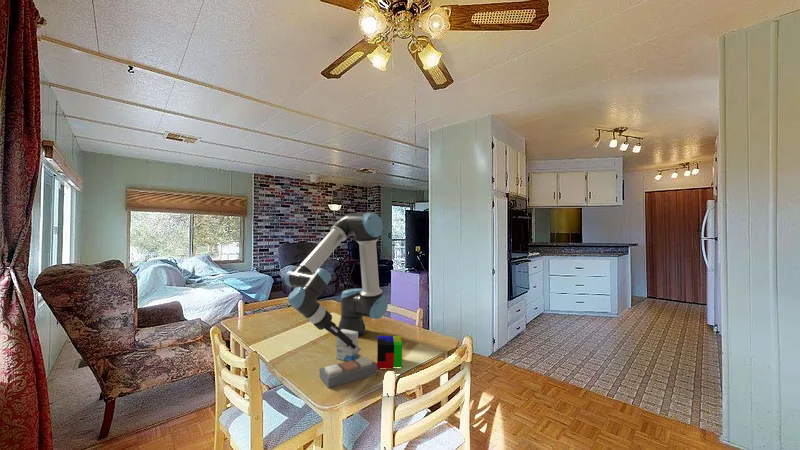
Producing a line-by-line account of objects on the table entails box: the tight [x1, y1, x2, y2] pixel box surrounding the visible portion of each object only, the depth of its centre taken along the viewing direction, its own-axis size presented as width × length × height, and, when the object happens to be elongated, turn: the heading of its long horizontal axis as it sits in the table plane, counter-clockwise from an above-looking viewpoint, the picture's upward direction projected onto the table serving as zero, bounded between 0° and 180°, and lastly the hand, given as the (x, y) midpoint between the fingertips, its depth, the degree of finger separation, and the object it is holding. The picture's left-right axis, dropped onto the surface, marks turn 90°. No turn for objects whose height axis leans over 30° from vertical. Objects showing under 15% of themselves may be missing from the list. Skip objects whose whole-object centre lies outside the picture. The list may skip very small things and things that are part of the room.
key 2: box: [355, 356, 373, 367], centre depth 125 cm, size 5×5×2 cm
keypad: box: [319, 359, 378, 389], centre depth 121 cm, size 20×9×4 cm, turn 124°
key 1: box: [323, 363, 342, 376], centre depth 118 cm, size 5×5×2 cm
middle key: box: [339, 361, 358, 371], centre depth 121 cm, size 5×5×2 cm
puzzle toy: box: [376, 335, 403, 370], centre depth 133 cm, size 10×10×10 cm
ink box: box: [335, 329, 359, 362], centre depth 137 cm, size 9×5×12 cm, turn 65°
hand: (353, 347), depth 139 cm, fingers closed on ink box, 10 cm apart
